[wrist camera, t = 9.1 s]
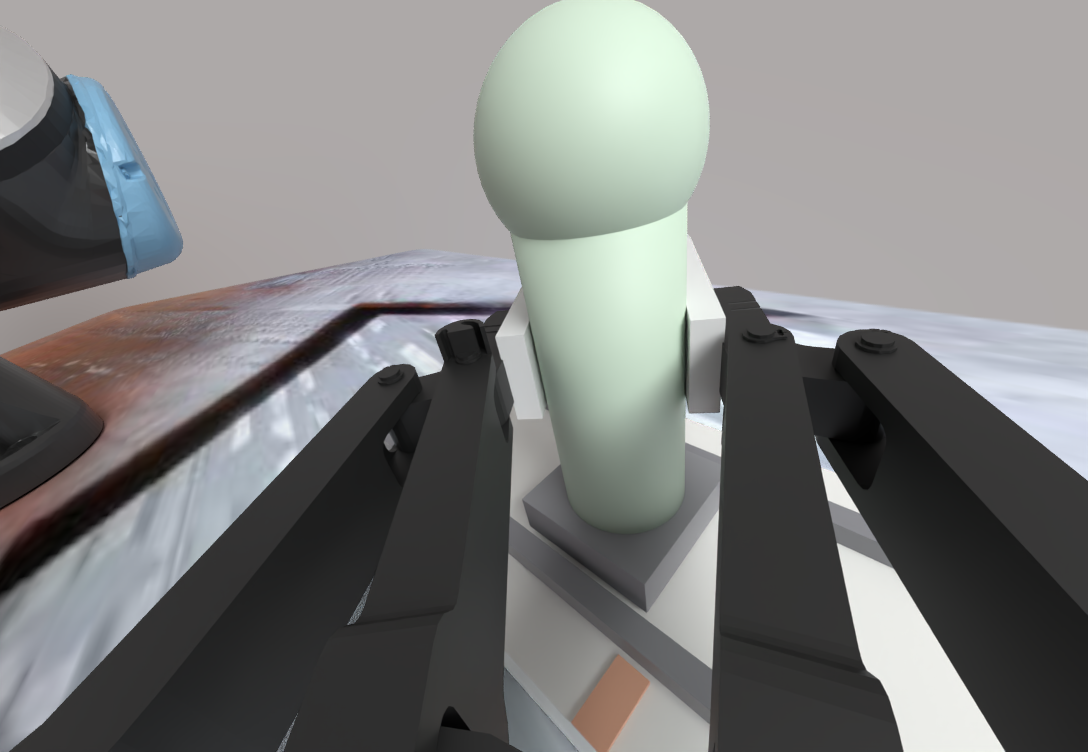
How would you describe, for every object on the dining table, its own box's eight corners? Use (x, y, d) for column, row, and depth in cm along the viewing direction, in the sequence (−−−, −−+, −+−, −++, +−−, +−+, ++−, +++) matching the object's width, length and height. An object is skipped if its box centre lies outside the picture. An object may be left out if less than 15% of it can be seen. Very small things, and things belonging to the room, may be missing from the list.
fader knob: (530, 525, 15) (381, 41, 8) (613, 444, 18) (565, 30, 11) (647, 613, 12) (590, -76, 4) (726, 497, 15) (776, -48, 7)
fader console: (337, 476, 24) (309, 433, 22) (493, 374, 30) (482, 334, 29) (932, 1153, 7) (1019, 1201, 5) (1000, 593, 13) (1050, 528, 12)
